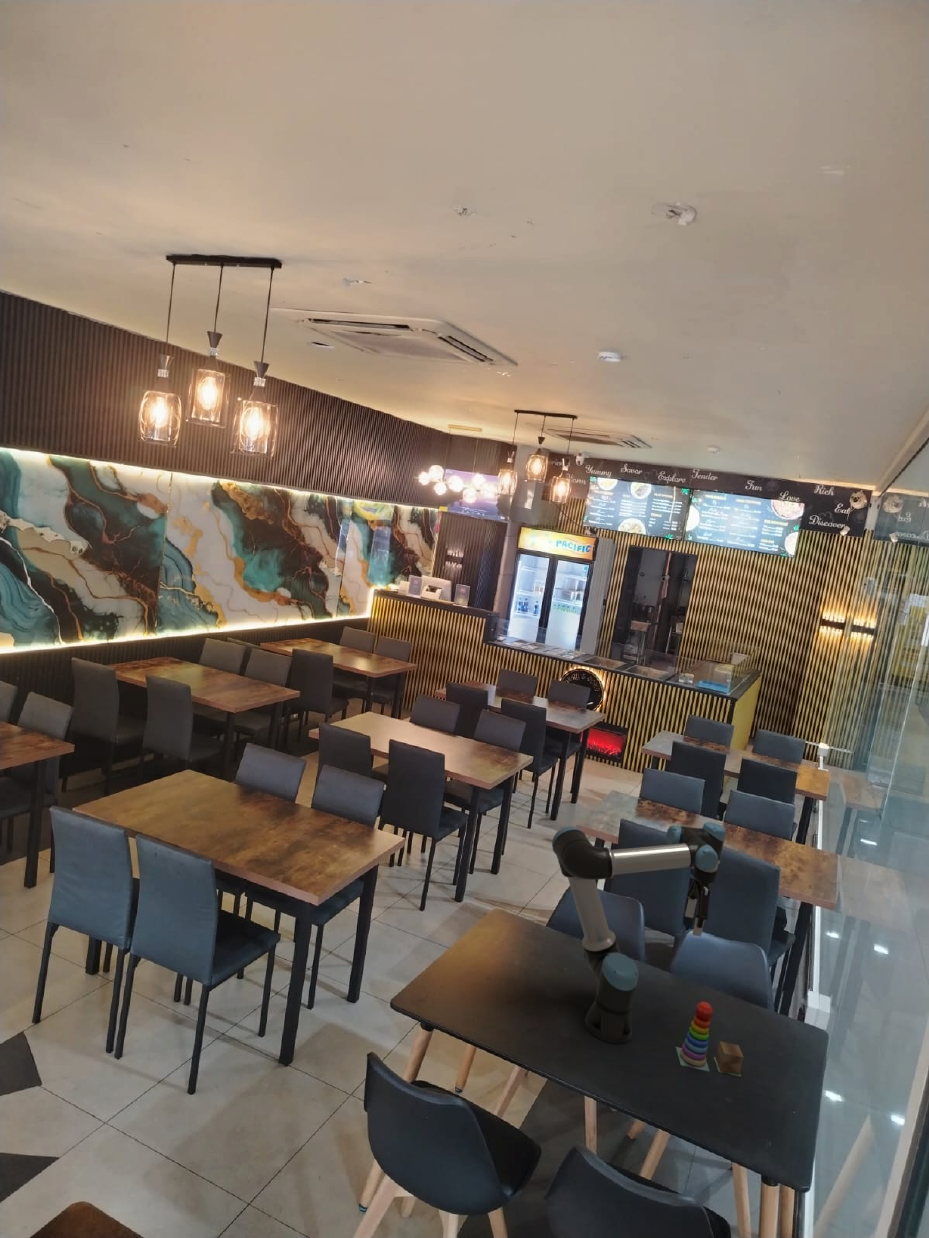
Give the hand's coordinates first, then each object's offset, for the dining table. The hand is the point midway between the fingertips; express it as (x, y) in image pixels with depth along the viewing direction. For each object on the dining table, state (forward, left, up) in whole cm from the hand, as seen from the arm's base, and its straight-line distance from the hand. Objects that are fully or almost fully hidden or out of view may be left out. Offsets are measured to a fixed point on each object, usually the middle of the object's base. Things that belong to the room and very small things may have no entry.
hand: (692, 925), depth 277 cm
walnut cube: (+12, -28, -30) cm, 43 cm away
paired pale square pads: (+5, -28, -32) cm, 43 cm away
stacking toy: (+1, -28, -31) cm, 41 cm away
